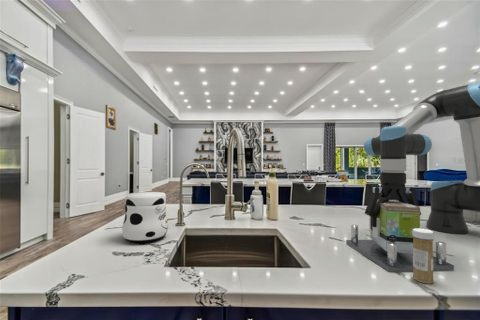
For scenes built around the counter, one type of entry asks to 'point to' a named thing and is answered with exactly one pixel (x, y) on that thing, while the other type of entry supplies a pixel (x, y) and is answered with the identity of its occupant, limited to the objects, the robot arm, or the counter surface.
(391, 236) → the tea box
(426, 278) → the sprinkles bottle
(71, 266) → the counter surface
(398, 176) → the robot arm
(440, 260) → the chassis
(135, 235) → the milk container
